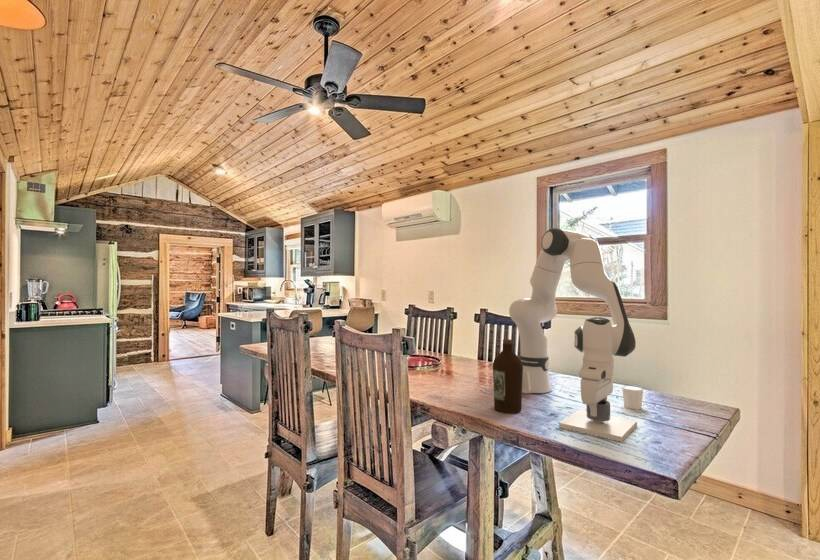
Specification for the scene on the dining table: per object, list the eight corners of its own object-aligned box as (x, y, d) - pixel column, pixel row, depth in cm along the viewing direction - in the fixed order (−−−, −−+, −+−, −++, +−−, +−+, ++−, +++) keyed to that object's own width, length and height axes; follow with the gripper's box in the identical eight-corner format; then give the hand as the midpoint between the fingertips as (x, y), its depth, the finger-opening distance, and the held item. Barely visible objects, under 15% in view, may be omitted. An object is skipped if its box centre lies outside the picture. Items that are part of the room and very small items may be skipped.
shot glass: (646, 410, 146) (646, 390, 146) (625, 409, 147) (625, 389, 147) (639, 404, 153) (639, 385, 153) (619, 403, 154) (619, 385, 154)
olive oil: (510, 403, 154) (510, 337, 154) (529, 412, 144) (529, 340, 144) (486, 407, 150) (486, 338, 150) (504, 415, 140) (504, 342, 140)
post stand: (559, 427, 129) (559, 406, 129) (579, 413, 142) (579, 395, 142) (621, 442, 117) (621, 419, 117) (637, 425, 130) (636, 405, 130)
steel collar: (583, 418, 129) (583, 402, 129) (590, 413, 134) (590, 397, 134) (606, 422, 125) (606, 406, 125) (612, 417, 130) (612, 401, 130)
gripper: (597, 362, 139) (598, 403, 139) (576, 372, 124) (576, 418, 124) (618, 365, 135) (618, 407, 135) (598, 375, 120) (598, 423, 120)
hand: (598, 412), depth 129 cm, fingers closed on steel collar, 6 cm apart
